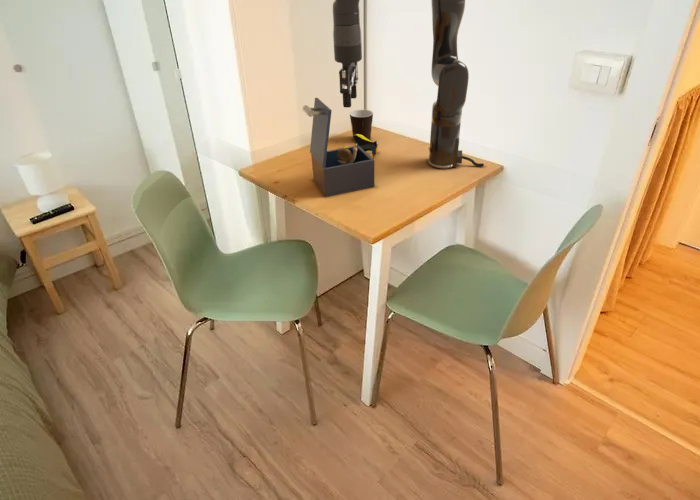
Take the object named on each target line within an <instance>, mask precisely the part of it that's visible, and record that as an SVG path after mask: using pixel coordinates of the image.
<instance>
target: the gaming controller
mask: <svg viewBox="0 0 700 500" xmlns="http://www.w3.org/2000/svg"><path fill="white" fill-rule="evenodd" d="M352 140H353V142H354V144H356V143H357V146H358V145H359V146H360V147H361V148H362V149H363V150H364V151H365V152H366V153H367V154H368V155H369V156H371V157H372V158H373V159H374V157H375V156H376V155H377V154H378V153H379V141H376V140H375V141H371V139H370V140H368V139H367V138H365V137H364V136H363V135H360V134H356V135H354V136H353V135H352ZM347 147H349V145H345V146H343V147H342V148H347Z"/></svg>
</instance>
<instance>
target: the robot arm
mask: <svg viewBox="0 0 700 500" xmlns="http://www.w3.org/2000/svg"><path fill="white" fill-rule="evenodd" d="M360 1H361V0H334V1H333V2H332V22H333V23H332V25H333V26H332V27H333V29H332V39H333V40H332V41H333V55H334V58H333V59H334V61H335V62H336V63H338V64H339V63H340V64H341V65H342V66H341V68H340V69H339V71H338V76H339V93H340V94H341V95H342V106H343V108H351V107H352V99H356V98H357V96H358V92H357V91H358V90H357V84H358V81H359V72H358V71H359V70H358V68H359V67H358V63H359V62H361V61H362V59H363V50H362V48H363V47H362V45H363V44H362V30H361V18H360V17H361V16H360V14H361V13H360ZM430 2H431V22H432V25H431V26H432V55H431V56H432V57H431V58H432V59H431V72H430V73H431V79H432V81H433V83H434V84H435V85H436V86H437V96H436V100H435V101H434V102H433V103H432V105H431V106H432V107H431V108H432V109H431V119H430V120H431V122H430V137H429V147H428V162H427V163H428V165H429V166H431V167H432V168H435V169H444V170H445V169H451V168H457V165H458V164H462V163H463V160H466V161H468V162H471V164H472V165H473V166H476V167H484V165H485V164H484V163H481V162H480V163H479V162H476V161H475V160H474V159H472V158H471V157H468V156H465V155H463V150H460V149H459V146H460V135H461V134H460V133H461V123H462V114H463V108H464V106H465V104H466V100H467V95H468V94H467V93H468V86H469V77H470V75H469V69H468V67H467V64H465V63H464V62H463V61H461V60H460V59H459V55H458V34H459V31H460V27H461V23H462V20H463V17H464V13H465V9H466V0H431V1H430ZM345 87H346V88H345Z"/></svg>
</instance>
